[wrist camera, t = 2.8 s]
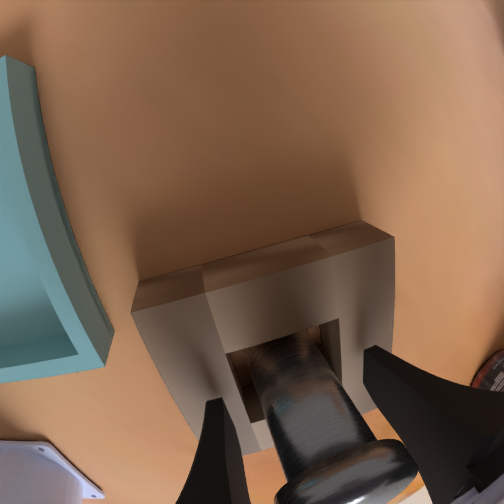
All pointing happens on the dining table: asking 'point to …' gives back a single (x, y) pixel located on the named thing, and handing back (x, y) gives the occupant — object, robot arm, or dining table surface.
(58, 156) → the dining table surface
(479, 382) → the supplement bottle
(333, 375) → the steel pin
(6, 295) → the tray
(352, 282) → the brown wooden square frame
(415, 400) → the robot arm
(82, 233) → the dining table surface
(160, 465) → the dining table surface
